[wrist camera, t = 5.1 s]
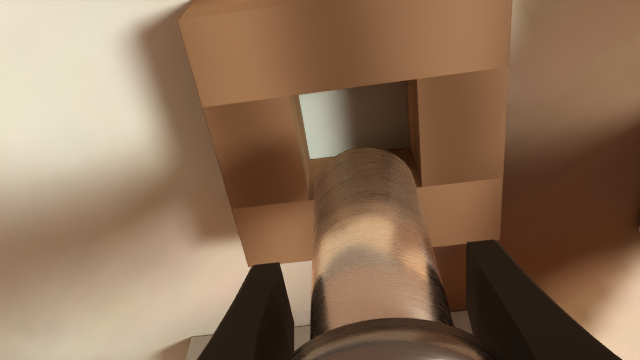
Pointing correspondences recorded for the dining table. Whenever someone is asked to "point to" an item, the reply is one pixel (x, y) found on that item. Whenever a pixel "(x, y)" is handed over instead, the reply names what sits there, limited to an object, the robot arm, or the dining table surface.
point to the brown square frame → (347, 72)
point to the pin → (377, 269)
